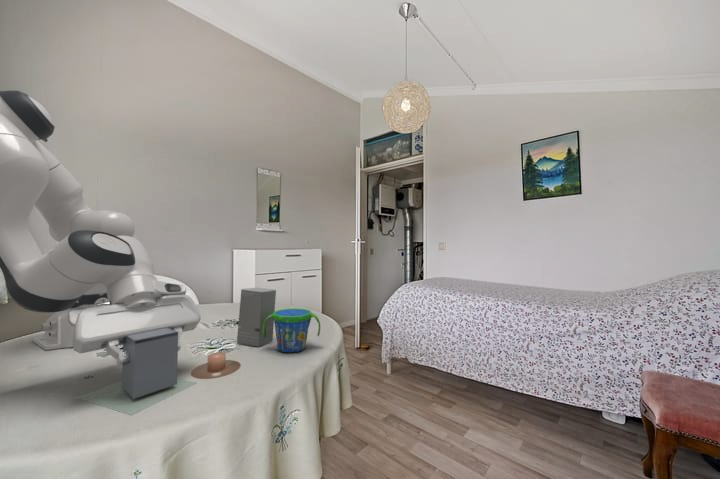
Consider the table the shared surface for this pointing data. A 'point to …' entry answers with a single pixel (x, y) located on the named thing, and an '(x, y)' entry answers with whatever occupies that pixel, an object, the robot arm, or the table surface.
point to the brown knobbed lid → (215, 367)
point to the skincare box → (256, 316)
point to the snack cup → (291, 328)
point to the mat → (125, 403)
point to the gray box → (150, 361)
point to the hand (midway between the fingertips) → (151, 356)
